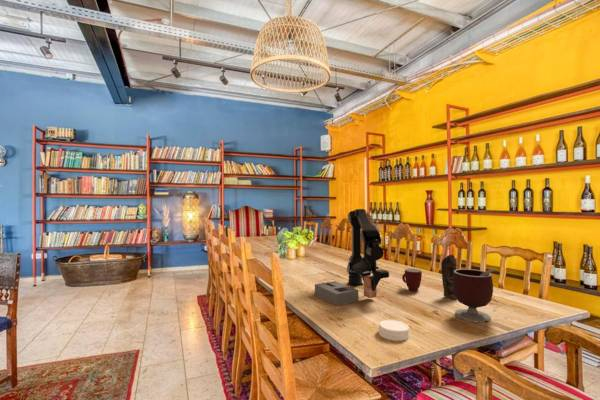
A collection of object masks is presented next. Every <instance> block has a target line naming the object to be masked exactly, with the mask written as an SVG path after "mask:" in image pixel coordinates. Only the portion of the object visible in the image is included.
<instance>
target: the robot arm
mask: <svg viewBox="0 0 600 400" xmlns="http://www.w3.org/2000/svg"><path fill="white" fill-rule="evenodd" d="M347 219H348V223H349V225H350V227H351V255H350V256H349V257H348V258H349V259H348V263H347V265H346V266H347V267H346V273H347V274H348V282H347V284H349V285H351V286H354V287H357V286H364V276H369V275H371V274H372V275H371V276H369V277H370V279H371V282H372V291H375V289H376V290H377V287H378V284H379V282H380V281H381V279H386V278H390V272H389V271H388V270H387V269H381V268H380V269H379V266H377V261H379V260H381V259H382V258H383V257H384V254H385V252H384V249H383V248H382V247H381V246H380V245H382V241H383V240H382V237H381V234H380V231H379V230H378V228H377V227H376V226H375V225H373V224H371V221H370V219H369V217H368V214H367V211H366V209H364V208H357V209H355V210H351V211H350V210H349V212H348V214H347ZM361 240H362V241H361ZM361 242H362V243H363V257H362V252H361V249H362V248H361V244H362V243H361Z"/></svg>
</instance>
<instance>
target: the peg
mask: <svg viewBox="0 0 600 400" xmlns="http://www.w3.org/2000/svg"><path fill="white" fill-rule="evenodd" d="M369 276H372V275H369ZM369 276H364V281H363V284H364V285H363V297H366V298H369V299H372V298H373V299H374V298H377V297H378V296H377V288H376V289H375V291H372V282H371V279H370V277H369Z"/></svg>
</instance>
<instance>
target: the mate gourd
mask: <svg viewBox="0 0 600 400" xmlns="http://www.w3.org/2000/svg"><path fill="white" fill-rule="evenodd" d="M493 272H496V269H495V268H494V269H489V270H484V271H483V270H479V269H471V268H469V269H468V268H459V269H457V268H456V270H454V274H453V292H454V295H455V297H456V298H457V299H456V300H457V301H458V302H459V303H460V304H463V305H465V306H466V307H468V308H460V309H456V310H455V311H454V315H455V316H456V317H457V318H458V319H461V318H462V319H461V320H463V319H465V320H464V321H467V320H469V321H468V322H471V321H477V322H476V323H486V322H485V321H489V320H490V321H491V320H492V317H491V316H490V315H489V314H488V313H486V312H483V311H481V310H478V308H482V307H486V306H487V305H488V304H489V303H490V302H491V301H492V298H493V294H494V281H493V277H492V273H493ZM490 321H489V322H490Z"/></svg>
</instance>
